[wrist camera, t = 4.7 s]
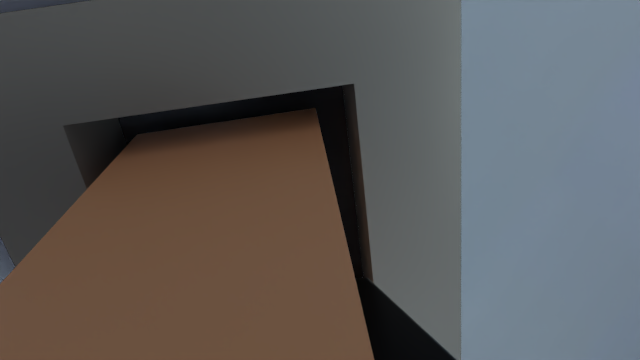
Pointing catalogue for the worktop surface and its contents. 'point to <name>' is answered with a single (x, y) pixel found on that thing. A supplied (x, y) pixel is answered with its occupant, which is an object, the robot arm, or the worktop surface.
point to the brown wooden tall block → (195, 255)
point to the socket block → (245, 83)
